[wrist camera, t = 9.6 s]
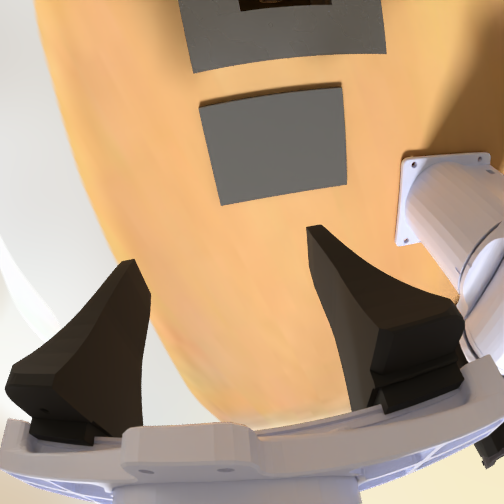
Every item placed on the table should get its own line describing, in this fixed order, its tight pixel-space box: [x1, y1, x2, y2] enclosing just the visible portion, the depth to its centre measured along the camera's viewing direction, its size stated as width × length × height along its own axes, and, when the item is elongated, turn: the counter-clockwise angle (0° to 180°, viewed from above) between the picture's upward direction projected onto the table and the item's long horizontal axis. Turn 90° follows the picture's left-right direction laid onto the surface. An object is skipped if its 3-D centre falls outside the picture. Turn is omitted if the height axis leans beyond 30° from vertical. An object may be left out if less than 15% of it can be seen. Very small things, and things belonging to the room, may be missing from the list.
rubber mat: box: [199, 87, 347, 206], centre depth 20 cm, size 9×7×1 cm
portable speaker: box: [455, 313, 504, 469], centre depth 28 cm, size 9×9×20 cm
